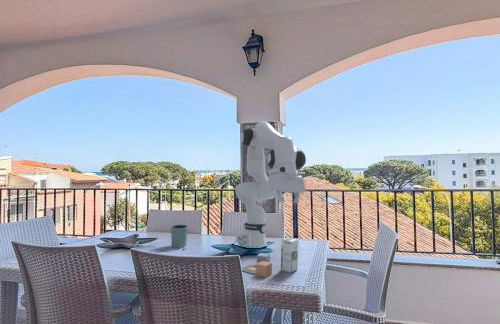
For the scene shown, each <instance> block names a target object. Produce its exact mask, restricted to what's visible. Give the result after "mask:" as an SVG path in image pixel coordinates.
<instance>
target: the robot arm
mask: <svg viewBox="0 0 500 324" xmlns="http://www.w3.org/2000/svg"><path fill="white" fill-rule="evenodd" d="M239 138H240V142H241V145H243V146H244V147H247V151H246V152H247V153H246V172H247V173H248V175H250V177H253V178H254V179H255V181H254V182H253V181H252V182H251V181H247V182H246V181H245V182H240V183H238V184H237V185H236V187H235V195H236V197H237V199H238V200H240V201H241V202H242V204H243V205H244V207H245V210H246V222H245V223H243V224H242V225H243V226H244V228H242V230H241V231H239V232H238V233H237V234H236V236H235V240H234V241H232V242H231V245H232V244H234V243H236V242H240V243H242V244H245V245H247V246H250V247H252V246H266V245H267V246H268V244H267V239H266V225H267V224H266V212H265V211H266V210H265V209H264V208H263V207H262V206H261V205H258V204H257V201H267V200H273V199H274V198H275V197H277V199H278V203H284V202H285V197H283V195H282V194H283V193H287V194H293V195H294V199H293V204H299V200H300V196H301V194H304V193H306V186H305V180H304V178H303V175H302V174H301V173H298V172H297V171H299V170H301V169H302V168H303V167H304V166H305V164H306V161H307V159H306V154H305V152H304V151H303V150H302V149H300V148H298V147H296V145H295V144H294V143H293V139H292V138H291V137H289V136H285V135H282V134H281V133H280V132H278V131H277V130H275V128H274V127H273V126H272V125H271V124H270V123H269V122H268V121H265V120H260V121H258V122H257V123H256V124H255V125H254V128H251V127H250V128H245V129H243V130H242V131H241V133H240V137H239ZM265 149H267V150H269V151H268V153H267V154H266V158H265ZM265 159H266V160H265ZM265 161H266V162H265ZM265 163H267V166H269V168H270V169H269V170H268V171H266V165H265ZM267 174H268V175H267Z"/></svg>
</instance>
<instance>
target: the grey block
mask: <svg viewBox="0 0 500 324" xmlns="http://www.w3.org/2000/svg"><path fill="white" fill-rule="evenodd" d="M262 261H265V262H269V263H271V254H270V253H264V252H260V253H257V255H256V264H257V263H259V262H262Z"/></svg>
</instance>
